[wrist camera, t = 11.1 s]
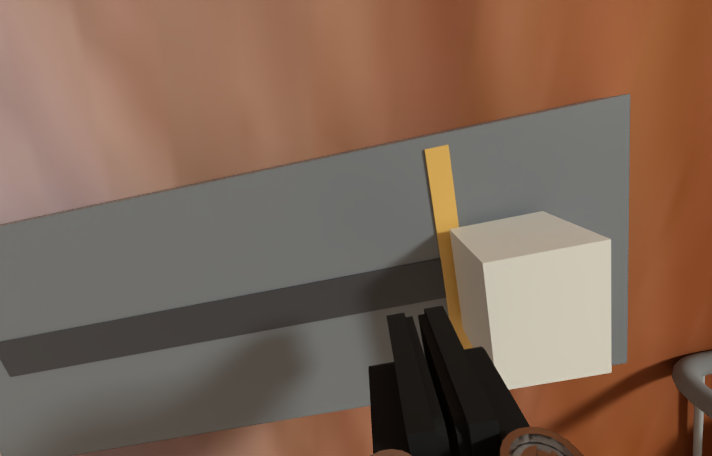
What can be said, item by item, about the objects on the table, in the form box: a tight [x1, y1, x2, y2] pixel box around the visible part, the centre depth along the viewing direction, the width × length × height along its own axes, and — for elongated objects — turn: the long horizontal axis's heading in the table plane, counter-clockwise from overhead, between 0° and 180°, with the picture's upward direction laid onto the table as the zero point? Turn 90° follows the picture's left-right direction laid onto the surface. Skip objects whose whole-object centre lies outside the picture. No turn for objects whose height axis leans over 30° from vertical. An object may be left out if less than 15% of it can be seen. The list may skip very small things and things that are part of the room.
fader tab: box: [449, 211, 611, 390], centre depth 13 cm, size 5×4×4 cm
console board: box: [0, 94, 630, 456], centre depth 17 cm, size 13×34×2 cm, turn 102°
